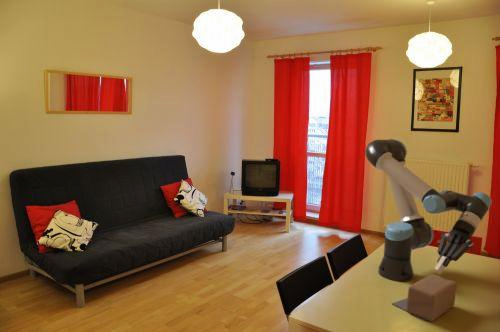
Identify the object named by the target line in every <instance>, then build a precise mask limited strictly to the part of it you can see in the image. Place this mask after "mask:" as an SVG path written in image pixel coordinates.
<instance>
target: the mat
mask: <svg viewBox="0 0 500 332" xmlns="http://www.w3.org/2000/svg"><path fill="white" fill-rule="evenodd" d="M407 300H408V297H406V298H404V299H401V300H397V301H395V302H391V305H392V306H395V307H396V308H398V309H400V310H402V311H405V312H406V313H407V314H410V315H412V316H414V317H416V318H418V319H420V320H422V321H424V322H425V321H428V320H427V319H425V318H422V317H420V316H417V315H415V314H413V313H410V312H408V311H407ZM452 310H454V307H453V306H452V307H451V308H450V309H448V310H447V311H445V312H444V313H447V312H450V311H452ZM444 313H443V314H444Z"/></svg>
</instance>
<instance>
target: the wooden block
mask: <svg viewBox="0 0 500 332" xmlns="http://www.w3.org/2000/svg"><path fill="white" fill-rule="evenodd" d="M407 290H408V292H407V298H408V300H407V311H408V312H410V313H413V314H415V315H417V316H420V317H422V318H425V319H427V320H426V321H431V322H432V321H435V320H436V319H437V318H439V317H440V316H441V315H443V314H444V312H445V311H447V310H448V309H450V308H451V307H452V308H453V307H454V305H455V300H456V292H457V291H456V290H457V282H456V281H455V280H452V279H449V278H445V277H442V276H439V275H436V274H432V273H431V274H429V275H428V276H425V277H424V278H422V279H420V280H418V281H417V282H415V283H413V284H412V285H409V287H408V289H407ZM408 312H407V313H408ZM447 312H448V311H447ZM410 313H409V314H410ZM445 313H446V312H445Z"/></svg>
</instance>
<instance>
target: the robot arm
mask: <svg viewBox="0 0 500 332" xmlns="http://www.w3.org/2000/svg"><path fill="white" fill-rule="evenodd" d="M364 151H365V152H364V153H365V157H366V160H367V161H368V162H369V163H370V165H372V166H373V167H374V168H376V170H382V171H383V172H384V173H385V174H386V175H387V179H388V183H389V186H390V189H391V193H392V195H393V199H394V201H395V204H396V208H397V211H398V214H399V217H400V220H399V221H398V222H397V221H395V222H391V223H388V224H387V225H386V228H385V233H384V247H383V249H384V250H383V256H382V258H381V261H380V263H379V264H378V265H379V266H378V270H377V272H378V274H379V275H380V276H382V277H383V278H385V279H387V280H388V279H389V280H392V281H398V282H407V281H412V280H413V279H414V269H413V265H412V261H411V259H412V251H413V250H417V249H422V248H425V247H426V246H428V245H430V244H432V241H433V239H434V235H435V234H434V230H433V227H432V225H431V224H430V223H428V222H427V221H425V217H424V216H423V215H421V214H420V213H419V210H418V207H417V203H416V201H415V198H417V200H418V201H420V202H421V203H422V206H423V208H424V210H425V211H426V212H427V213H429V214H441V213H444V212H451V211H455V212H457V211H458V212H460V215H459V217H458V218H457V220H456V221H455V223H454V225H453V226H452V228H451V230H450V231H449V232H448V233H445V232H441V239H440V243H439V246H438V248H437V251H436V252H437V254H438V256H439V257H438V259H437V262H436V263H437V264H436V265H435V267H434V268H433V269H434V271H435V272H436V273H437V274H439V275H441V274H442V272H443V270H444V269H445V268H447V267H448V266H449V264H450V263H451V261H454V262H457V261H458V260H459V259H460V258H461V257H462V256H463V255H465V253H466V252H467V251H468V250H470V249H472V248H473V247H474V246H475V245H474V242H473V241H472V240H471V238H472V236H473V235H474V233H475V232H476V230H477V229H478V227H479V225H480V224H481V222H482V220H483V219H484V217H485V215H486V214H487V213H488V211H489V210H490V207H491V206H492V203H493V200H492V198H491V196H489V195H488V194H487V193H485V192H481V191H478V192H474V193H473V194H472V195H467V194H464V193H460V192H456V191H453V190H447V189H443V190H441V191H440V192H439V191H437V190H436V189H435V188H434V187H432V186H431V185H429V184H428V183H427V182H426V181H425V180H423V179H422V178H421V177H419V176H418V175H417V174H415V173H414V172H413V171H412V170H410V169H409V168H407V167H406V166H405V165H406V163H407V162H406V157H407V153H408V151H407V147H406V145H405V144H404V143H403V142H402V141H400V140H399V139H393V138H392V139H391V138H389V139H374V140H372V141H370V142H369V143H368V144H367V146H366V148H365V150H364Z"/></svg>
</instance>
